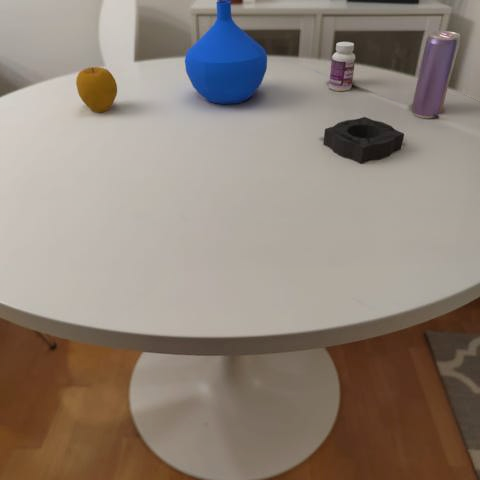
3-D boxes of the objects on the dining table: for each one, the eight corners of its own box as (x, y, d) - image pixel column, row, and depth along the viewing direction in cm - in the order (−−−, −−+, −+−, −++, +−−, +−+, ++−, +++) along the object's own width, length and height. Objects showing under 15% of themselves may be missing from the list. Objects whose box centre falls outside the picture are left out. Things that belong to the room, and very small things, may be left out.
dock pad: (406, 149, 83) (410, 133, 81) (360, 166, 79) (363, 150, 77) (362, 129, 90) (364, 114, 88) (317, 143, 86) (319, 128, 84)
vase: (186, 113, 100) (176, 12, 87) (190, 85, 113) (182, -5, 101) (269, 109, 100) (271, 9, 87) (263, 83, 114) (264, -8, 101)
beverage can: (427, 121, 93) (447, 39, 83) (404, 112, 96) (421, 33, 87) (446, 114, 95) (468, 34, 85) (423, 106, 99) (441, 29, 89)
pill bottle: (346, 93, 107) (352, 47, 100) (325, 89, 109) (329, 45, 102) (354, 86, 110) (360, 42, 104) (334, 83, 112) (338, 39, 106)
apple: (129, 107, 103) (121, 65, 98) (101, 119, 98) (91, 76, 92) (102, 100, 107) (93, 60, 101) (74, 112, 102) (63, 70, 96)
